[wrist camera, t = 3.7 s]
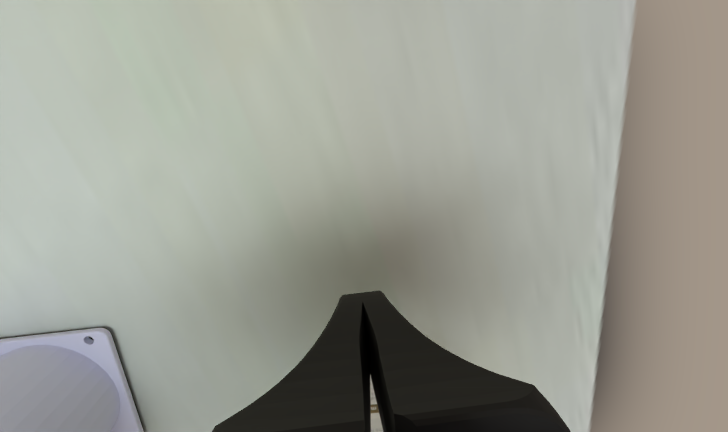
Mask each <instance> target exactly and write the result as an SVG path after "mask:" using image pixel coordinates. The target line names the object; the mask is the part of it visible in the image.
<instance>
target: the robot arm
mask: <svg viewBox="0 0 728 432" xmlns="http://www.w3.org/2000/svg"><path fill="white" fill-rule="evenodd" d="M89 336H90V337H92V338H93V339H94V340H91V339H90V338H89ZM370 375H371V380H372V384H373V389H374V393H375V397H376V402H377V406H378V410H379V415H380V419H381V423H382V428H383V432H570V430H569V428H568V427H567V426H566V424H565V423H564V421H563V420H562V419H561V417H560V416H559V414H558V413H557V412H556V410H555V409H554V408H553V407H552V405H551V404H550V403H549V402H548V401H547V400H546V398H545V397H544V396H543V395H542V394H541V393H540V392H539V391H538V389H537V388H536V387H535V386H534V385H532V384H528V383H525V382H522V381H519V380H515V379H512V378H509V377H506V376H502V375H499V374H496V373H494V372H491V371H489V370H486V369H484V368H481V367H479V366H477V365H474V364H472V363H470V362H468V361H466V360H464V359H462V358H460V357H458V356H456V355H454V354H452V353H450V352H449V351H447V350H445V349H444V348H442V347H440V346H439V345H437V344H436V343H434V342H433V341H431V340H430V339H428V338H427V337H426V336H424V335H423V334H422V333H421V332H419V331H418V330H417V329H416V328H415V327H414V326H413V325H411V324H410V323H409V322H408V321H407V320H406V319H405V318H404V317H403V316H402V315H401V314H400V313H399V312H398V311H397V310H396V309H395V307H394V306H393V305H392V304H391V303H390V302H389V300H388V299H387V298H386V297H385V295H384V294H383V293H382V292H381V291H373V292H364V293H356V294H347V295H342V297H341V298H340V300H339V302H338V305H337V307H336V309H335V311H334V313H333V315H332V317H331V319H330V321H329V322H328V324H327V326H326V328H325V329H324V331H323V332H322V334H321V335H320V337H319V338H318V340H317V341H316V343H315V344H314V346H313V347H312V348H311V349H310V351H309V352H308V353H307V354H306V356H305V357H304V358H303V359H302V360H301V361H300V363H299V364H298V365H297V366H296V367H295V368H294V369H293V370H292V371H291V372H290V373H289V374H287V375H286V376H285V377H284V378H283V379H282V380H281V381H280V382H279V383H278V384H277V385H275V386H274V387H273V388H272V389H270V390H269V391H268V392H267V393H265V394H264V395H263V396H261V397H260V398H259V399H257V400H256V401H255V402H253V403H252V404H250V405H249V406H247V407H246V408H244V409H243V410H241V411H239V412H238V413H236V414H235V415H233V416H231V417H230V418H228V419H226V420H225V421H223V422H222V423H220V424H218V425H216V426H215V427H214V429H213V431H212V432H371V400H370ZM0 432H144V431H143V428H142V425H141V422H140V419H139V416H138V413H137V410H136V407H135V404H134V401H133V398H132V395H131V392H130V389H129V386H128V383H127V380H126V377H125V374H124V371H123V368H122V365H121V362H120V359H119V356H118V353H117V350H116V347H115V344H114V341H113V338H112V335H111V333H110V332H109V331H108V330H107V329H105V328H93V329H84V330H75V331H67V332H58V333H49V334H40V335H31V336H23V337H14V338H5V339H0Z"/></svg>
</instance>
